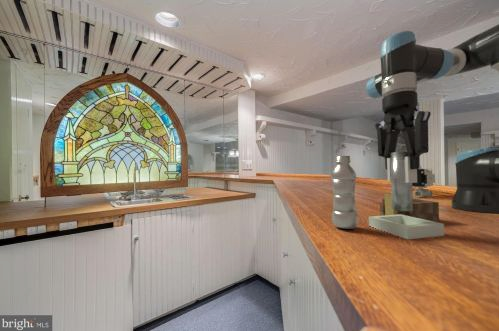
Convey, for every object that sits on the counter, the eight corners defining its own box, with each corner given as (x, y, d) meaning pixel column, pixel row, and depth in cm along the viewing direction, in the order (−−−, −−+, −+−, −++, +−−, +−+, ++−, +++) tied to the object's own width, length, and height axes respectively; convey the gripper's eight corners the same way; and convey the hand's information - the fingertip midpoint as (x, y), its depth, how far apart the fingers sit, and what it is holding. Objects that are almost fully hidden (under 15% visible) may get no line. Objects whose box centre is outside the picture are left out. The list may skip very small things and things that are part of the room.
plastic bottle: (348, 233, 51) (345, 155, 51) (326, 226, 57) (325, 156, 57) (363, 229, 54) (361, 155, 54) (341, 223, 60) (340, 157, 60)
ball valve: (426, 199, 103) (425, 165, 103) (406, 198, 110) (405, 166, 110) (437, 196, 113) (436, 165, 113) (418, 195, 120) (417, 166, 120)
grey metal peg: (400, 207, 55) (399, 153, 55) (417, 210, 50) (415, 151, 51) (387, 208, 54) (386, 153, 54) (403, 211, 50) (401, 151, 50)
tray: (400, 223, 59) (400, 214, 59) (444, 235, 48) (443, 223, 48) (369, 226, 56) (368, 216, 56) (407, 239, 46) (407, 227, 46)
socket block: (406, 215, 70) (405, 197, 70) (439, 222, 60) (438, 202, 60) (375, 217, 67) (374, 199, 67) (404, 225, 57) (403, 204, 57)
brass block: (391, 218, 64) (390, 193, 64) (400, 220, 61) (399, 194, 61) (385, 218, 63) (384, 193, 64) (393, 220, 61) (392, 194, 61)
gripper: (361, 104, 61) (364, 180, 60) (422, 78, 44) (426, 184, 43) (382, 106, 62) (384, 180, 62) (448, 81, 45) (452, 183, 45)
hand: (401, 181), depth 52 cm, fingers closed on grey metal peg, 4 cm apart
